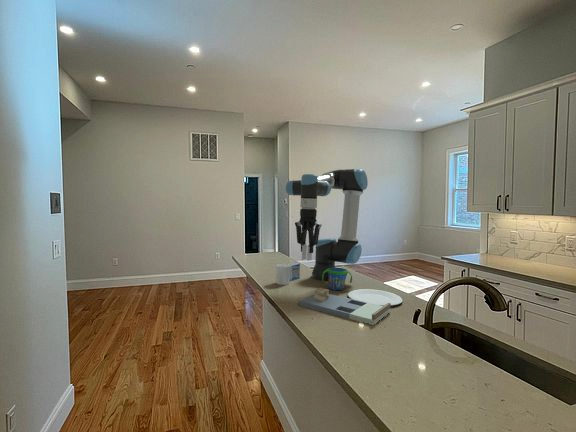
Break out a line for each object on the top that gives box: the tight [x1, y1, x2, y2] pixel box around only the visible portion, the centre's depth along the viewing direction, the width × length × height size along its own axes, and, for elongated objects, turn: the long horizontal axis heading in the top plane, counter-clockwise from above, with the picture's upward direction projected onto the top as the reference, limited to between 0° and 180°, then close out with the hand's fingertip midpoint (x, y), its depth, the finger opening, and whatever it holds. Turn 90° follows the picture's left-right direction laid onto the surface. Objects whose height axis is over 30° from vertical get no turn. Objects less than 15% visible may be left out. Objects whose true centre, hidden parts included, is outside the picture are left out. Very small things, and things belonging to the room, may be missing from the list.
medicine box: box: [289, 262, 301, 281], centre depth 185 cm, size 8×4×9 cm, turn 143°
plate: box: [347, 288, 403, 307], centre depth 151 cm, size 25×25×2 cm
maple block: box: [314, 287, 330, 301], centre depth 142 cm, size 4×4×4 cm
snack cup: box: [321, 267, 353, 291], centre depth 167 cm, size 16×10×10 cm
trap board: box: [298, 293, 392, 326], centre depth 136 cm, size 18×34×4 cm, turn 54°
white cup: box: [275, 263, 291, 286], centre depth 174 cm, size 8×8×10 cm
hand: (306, 259), depth 146 cm, fingers open, 2 cm apart
